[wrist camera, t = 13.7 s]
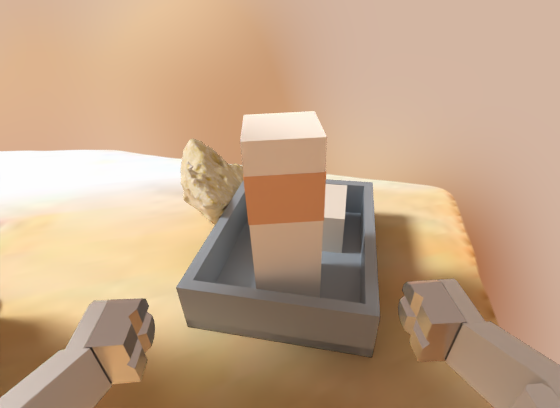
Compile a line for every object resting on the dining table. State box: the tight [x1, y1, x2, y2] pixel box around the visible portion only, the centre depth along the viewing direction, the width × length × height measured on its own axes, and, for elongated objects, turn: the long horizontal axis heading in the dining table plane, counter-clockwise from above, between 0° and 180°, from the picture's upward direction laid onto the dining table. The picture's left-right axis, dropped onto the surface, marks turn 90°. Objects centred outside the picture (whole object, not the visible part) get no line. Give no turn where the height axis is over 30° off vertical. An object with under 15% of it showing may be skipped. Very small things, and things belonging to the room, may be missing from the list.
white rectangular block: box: [322, 184, 347, 253], centre depth 38 cm, size 10×7×4 cm
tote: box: [176, 180, 380, 357], centre depth 34 cm, size 16×20×5 cm
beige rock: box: [181, 139, 244, 224], centre depth 44 cm, size 15×7×15 cm
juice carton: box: [240, 111, 327, 298], centre depth 27 cm, size 6×6×16 cm
